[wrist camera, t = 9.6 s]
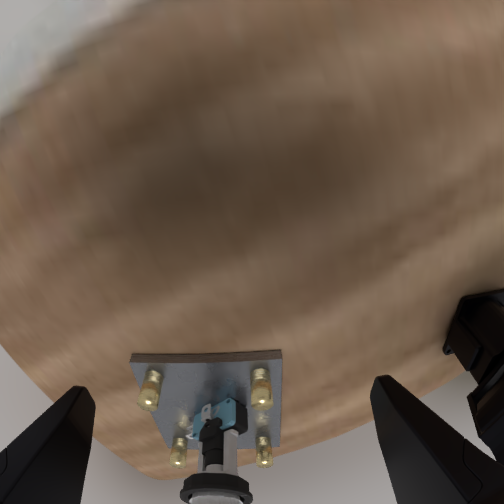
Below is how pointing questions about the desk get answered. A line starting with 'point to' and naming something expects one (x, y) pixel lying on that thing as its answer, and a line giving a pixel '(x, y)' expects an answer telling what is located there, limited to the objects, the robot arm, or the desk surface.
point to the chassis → (212, 396)
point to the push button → (217, 456)
